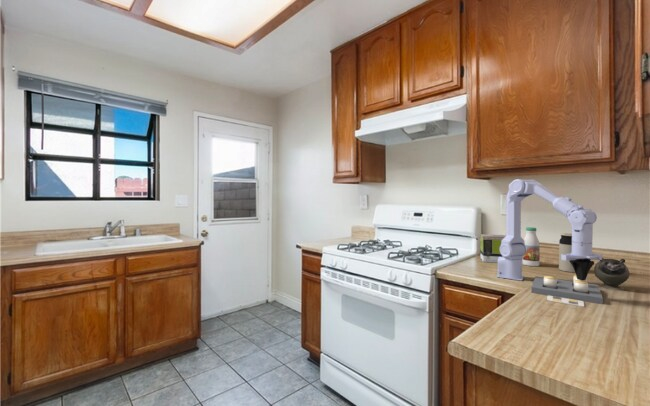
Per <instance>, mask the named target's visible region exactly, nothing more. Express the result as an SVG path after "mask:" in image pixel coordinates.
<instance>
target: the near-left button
mask: <svg viewBox="0 0 650 406" xmlns="http://www.w3.org/2000/svg"><path fill="white" fill-rule="evenodd" d="M543 277H544V286H546V287H552V288H555V287H557V279H558V278H557V277H555V276H552V275H544V276H543ZM556 278H557V279H556Z"/></svg>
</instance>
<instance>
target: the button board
mask: <svg viewBox="0 0 650 406" xmlns="http://www.w3.org/2000/svg"><path fill="white" fill-rule="evenodd" d="M530 289H531V291H530V292H531V293H533V294H538V295H545V296H548V295H549V296H555V297H561V298H567V299H573V300H579V301H584V302H587V303H588V302H589V303H593V304H594V303H595V304H601V305H603V301H604V300H603V299H604V298H603V295H602V292H601V290H600V287H599V285H598V284H594V283H588V292H579V291H575V290H574V284H573V281H572V280H564V279H558V278H557V287H555V288H552V287H546V286H544V276H535V278H534V280H533V282H532V285H531V288H530Z"/></svg>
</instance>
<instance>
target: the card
mask: <svg viewBox="0 0 650 406" xmlns="http://www.w3.org/2000/svg"><path fill="white" fill-rule="evenodd" d="M546 296H547V297H546V301H549V302H553V303H560V304H564V305H570V306H571V305H572V306H577V307H581V308H582V307H583V308H584V307H585V301H581V300H575V299H569V298H562V297H556V296H550V295H546Z"/></svg>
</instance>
